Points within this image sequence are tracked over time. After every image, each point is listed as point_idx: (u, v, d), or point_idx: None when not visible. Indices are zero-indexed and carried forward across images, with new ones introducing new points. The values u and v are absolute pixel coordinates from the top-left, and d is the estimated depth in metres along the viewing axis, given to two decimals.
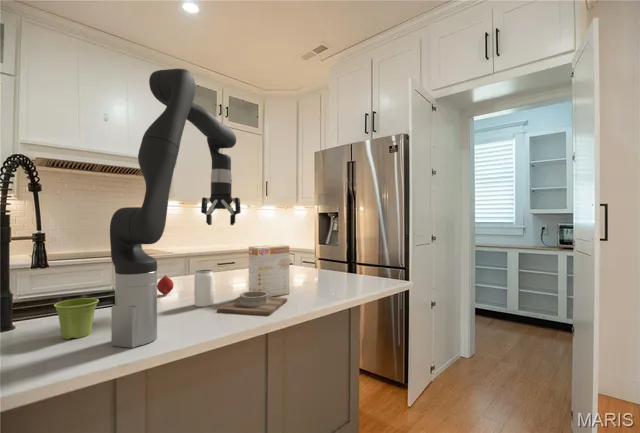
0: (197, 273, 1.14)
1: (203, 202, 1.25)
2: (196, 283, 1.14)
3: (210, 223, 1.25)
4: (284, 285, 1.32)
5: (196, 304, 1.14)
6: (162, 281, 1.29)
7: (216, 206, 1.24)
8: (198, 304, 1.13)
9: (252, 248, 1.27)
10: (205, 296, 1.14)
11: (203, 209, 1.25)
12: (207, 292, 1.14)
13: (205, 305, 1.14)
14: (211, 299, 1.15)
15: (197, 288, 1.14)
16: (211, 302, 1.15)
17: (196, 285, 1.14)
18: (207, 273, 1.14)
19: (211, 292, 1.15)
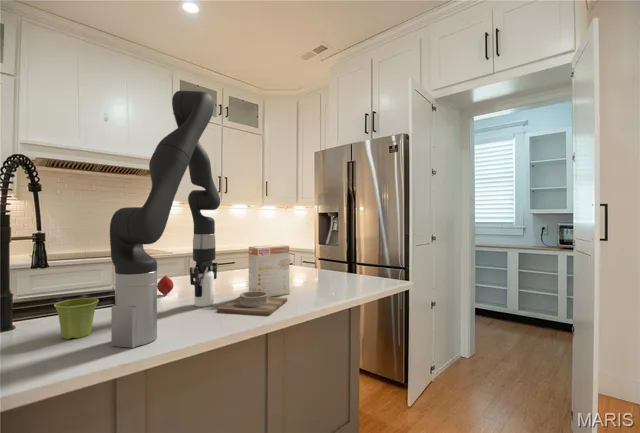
0: None
1: (197, 273, 1.10)
2: None
3: None
4: (284, 285, 1.32)
5: (196, 304, 1.14)
6: (162, 281, 1.29)
7: None
8: (198, 304, 1.13)
9: (252, 248, 1.27)
10: (205, 296, 1.14)
11: (198, 280, 1.11)
12: (208, 292, 1.14)
13: (205, 305, 1.14)
14: (211, 299, 1.15)
15: None
16: (211, 302, 1.15)
17: None
18: (207, 273, 1.14)
19: (211, 292, 1.15)
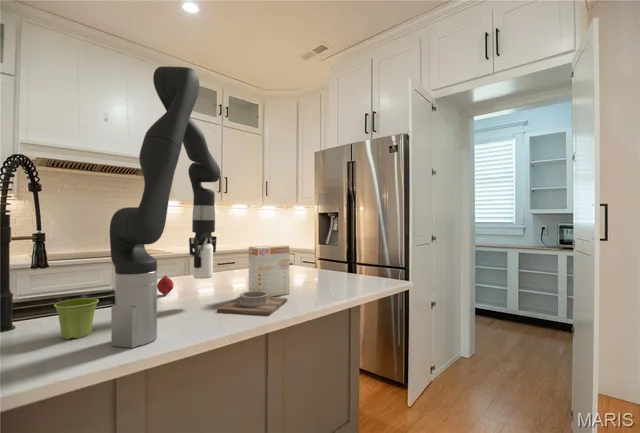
0: None
1: (196, 243, 1.10)
2: None
3: None
4: (284, 285, 1.32)
5: (195, 275, 1.14)
6: (162, 281, 1.29)
7: (204, 245, 1.15)
8: (197, 275, 1.13)
9: (252, 248, 1.27)
10: (204, 267, 1.13)
11: (197, 251, 1.11)
12: (207, 264, 1.14)
13: (204, 276, 1.14)
14: (210, 271, 1.15)
15: None
16: (210, 274, 1.15)
17: None
18: (206, 245, 1.14)
19: (210, 264, 1.15)
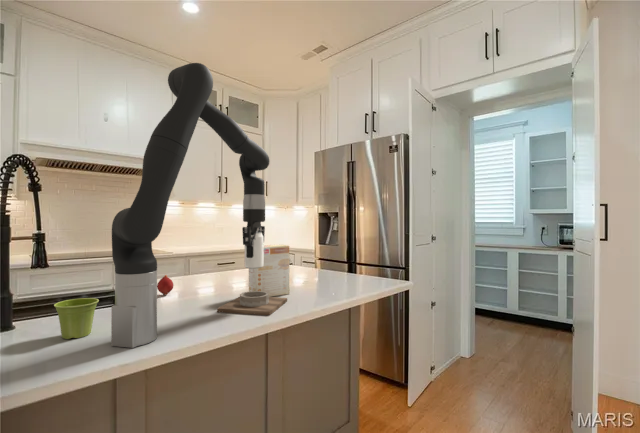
0: None
1: (250, 232, 1.09)
2: None
3: None
4: (284, 285, 1.32)
5: (247, 265, 1.12)
6: (162, 281, 1.29)
7: None
8: (249, 265, 1.12)
9: None
10: (256, 257, 1.12)
11: (250, 240, 1.09)
12: (259, 253, 1.12)
13: (256, 266, 1.12)
14: (262, 261, 1.14)
15: None
16: (262, 264, 1.14)
17: None
18: (258, 234, 1.13)
19: (262, 253, 1.14)
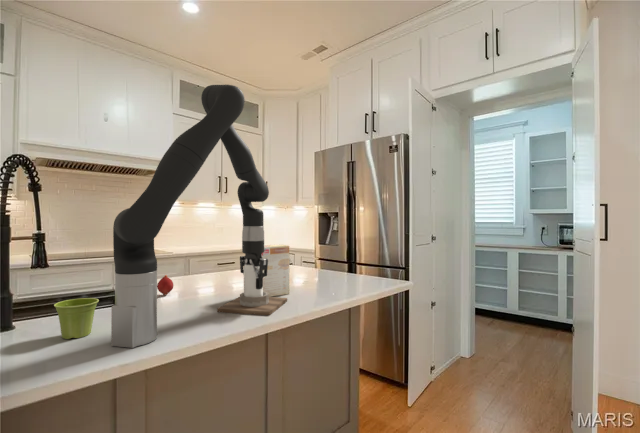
0: None
1: None
2: (255, 276, 1.12)
3: None
4: (284, 285, 1.32)
5: None
6: (162, 281, 1.29)
7: None
8: (258, 296, 1.13)
9: None
10: (262, 287, 1.15)
11: None
12: None
13: None
14: None
15: None
16: None
17: (255, 278, 1.12)
18: None
19: None
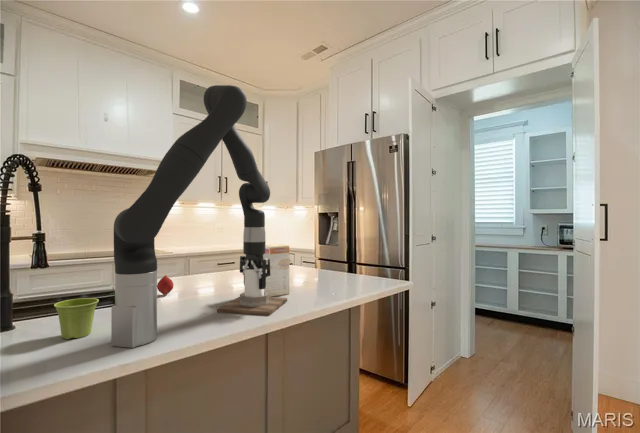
0: None
1: None
2: (256, 280, 1.12)
3: None
4: (284, 285, 1.32)
5: None
6: (162, 281, 1.29)
7: None
8: None
9: None
10: (263, 292, 1.14)
11: None
12: None
13: None
14: None
15: (258, 285, 1.12)
16: None
17: (256, 282, 1.12)
18: None
19: None
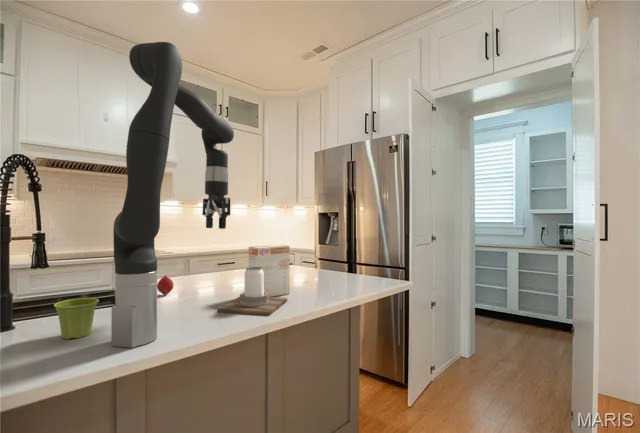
0: (256, 270, 1.12)
1: None
2: (256, 281, 1.12)
3: None
4: (284, 285, 1.32)
5: None
6: (162, 281, 1.29)
7: None
8: None
9: (252, 248, 1.27)
10: (263, 292, 1.14)
11: None
12: (263, 288, 1.15)
13: None
14: None
15: (258, 285, 1.12)
16: None
17: (257, 283, 1.12)
18: None
19: None
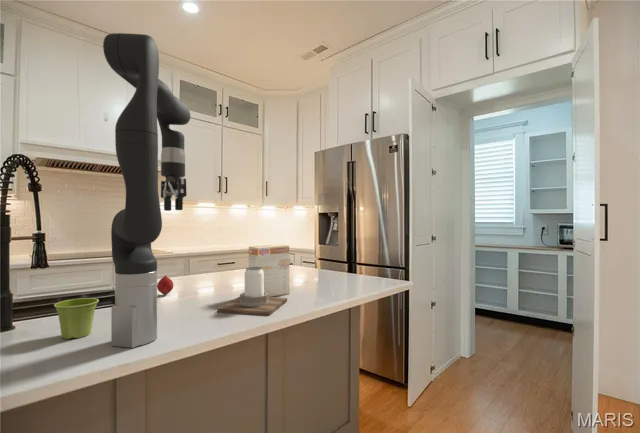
0: (256, 270, 1.12)
1: None
2: (257, 281, 1.12)
3: None
4: (284, 285, 1.32)
5: None
6: (162, 281, 1.29)
7: None
8: None
9: (252, 248, 1.27)
10: (263, 292, 1.14)
11: None
12: (263, 288, 1.15)
13: None
14: None
15: (258, 285, 1.12)
16: None
17: (257, 283, 1.12)
18: None
19: None
